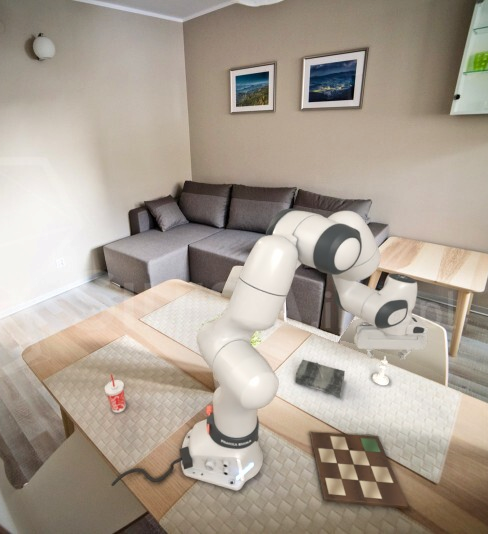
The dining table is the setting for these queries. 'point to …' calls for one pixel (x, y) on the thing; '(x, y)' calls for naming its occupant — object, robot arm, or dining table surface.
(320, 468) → the game board
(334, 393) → the stone block
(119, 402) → the beverage cup
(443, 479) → the dining table surface
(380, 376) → the chess piece
